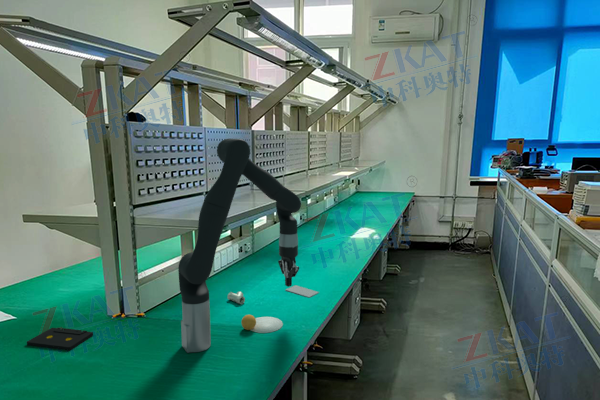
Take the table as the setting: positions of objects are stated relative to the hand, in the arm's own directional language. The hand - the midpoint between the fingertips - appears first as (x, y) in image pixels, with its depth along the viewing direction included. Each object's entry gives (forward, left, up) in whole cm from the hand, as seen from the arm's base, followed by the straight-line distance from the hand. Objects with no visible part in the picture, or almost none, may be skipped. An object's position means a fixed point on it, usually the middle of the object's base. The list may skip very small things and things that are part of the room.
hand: (288, 285), depth 165 cm
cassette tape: (-79, +29, -15) cm, 86 cm away
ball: (-18, 0, -11) cm, 21 cm away
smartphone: (+21, +22, -15) cm, 34 cm away
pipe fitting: (-9, +28, -14) cm, 33 cm away
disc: (-11, 0, -14) cm, 18 cm away
